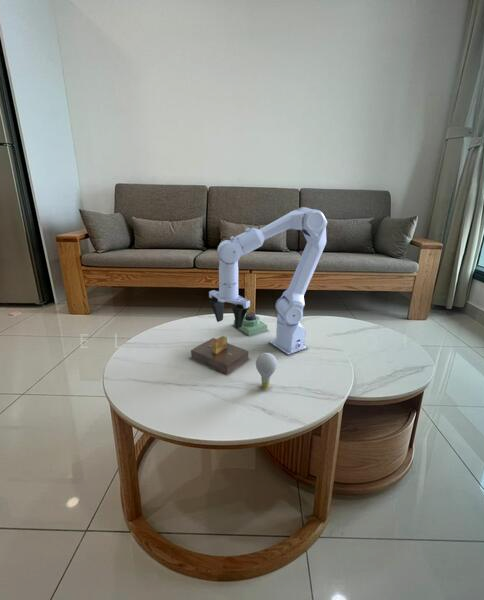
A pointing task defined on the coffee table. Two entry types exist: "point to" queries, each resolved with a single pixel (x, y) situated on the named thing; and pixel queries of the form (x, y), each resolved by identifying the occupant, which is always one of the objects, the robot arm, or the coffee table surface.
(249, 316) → the alarm button
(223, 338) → the thumb turn
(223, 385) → the coffee table surface
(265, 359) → the light bulb
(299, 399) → the coffee table surface
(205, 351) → the plate
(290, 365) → the coffee table surface
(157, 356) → the coffee table surface
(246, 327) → the block
